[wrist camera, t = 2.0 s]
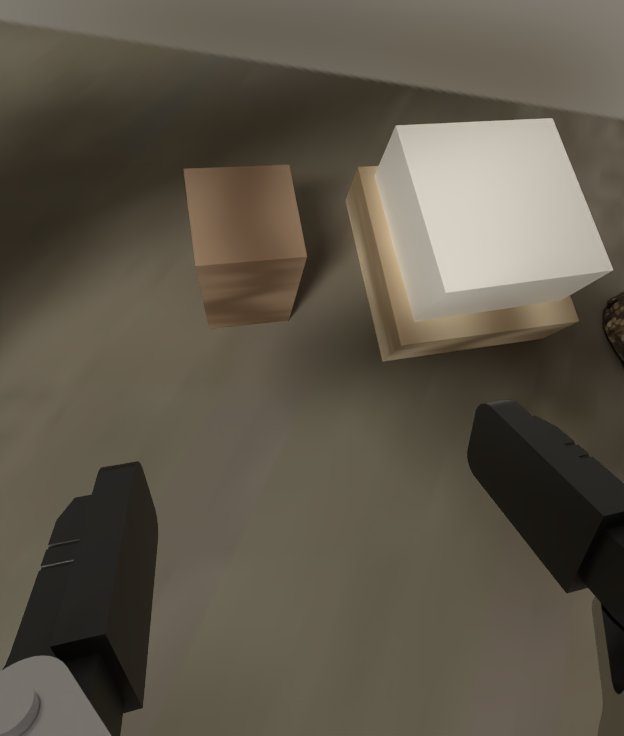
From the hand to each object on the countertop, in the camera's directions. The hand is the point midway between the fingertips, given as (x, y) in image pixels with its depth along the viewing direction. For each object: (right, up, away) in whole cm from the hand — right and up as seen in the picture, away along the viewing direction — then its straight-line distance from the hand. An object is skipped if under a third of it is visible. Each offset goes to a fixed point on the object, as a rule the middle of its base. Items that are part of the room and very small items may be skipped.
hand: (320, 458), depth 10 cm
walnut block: (-5, +7, +17) cm, 19 cm away
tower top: (+10, +10, +17) cm, 22 cm away
